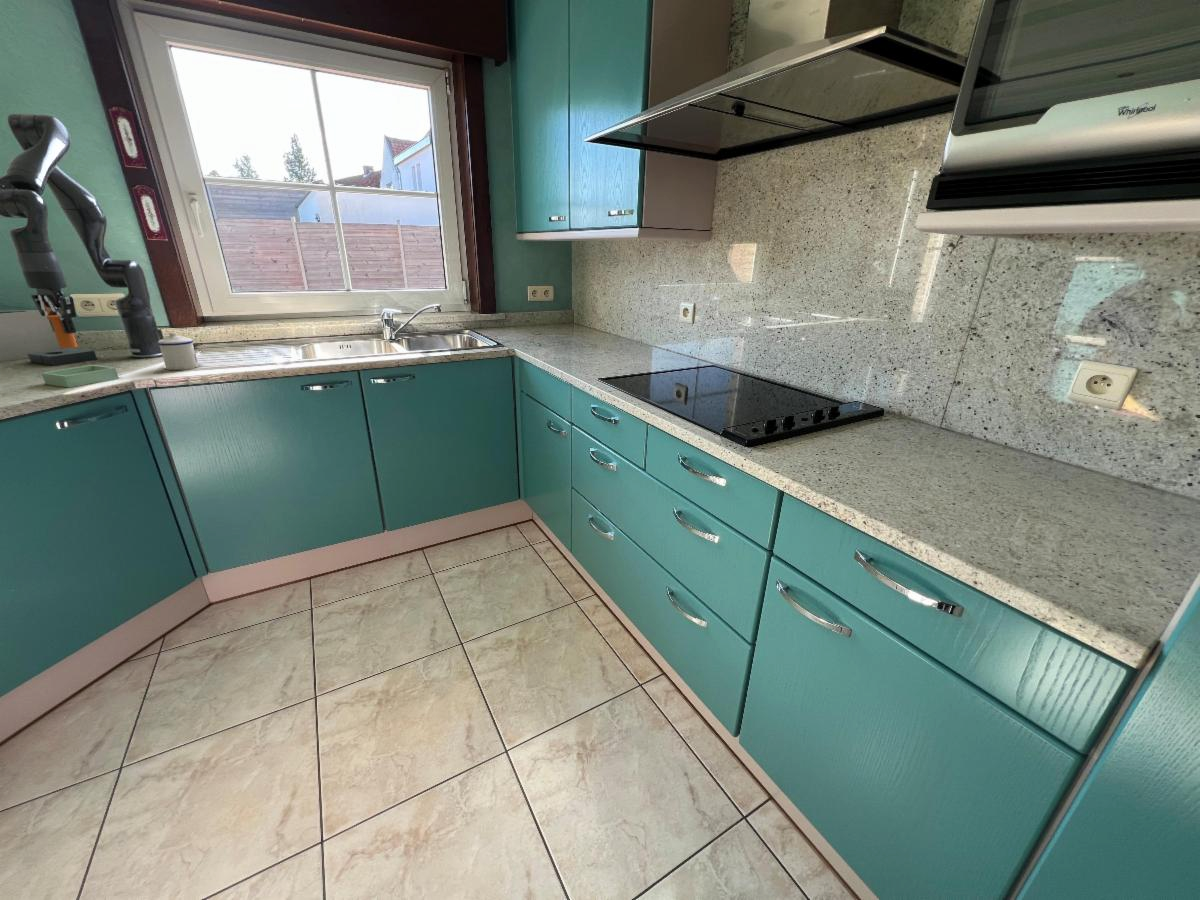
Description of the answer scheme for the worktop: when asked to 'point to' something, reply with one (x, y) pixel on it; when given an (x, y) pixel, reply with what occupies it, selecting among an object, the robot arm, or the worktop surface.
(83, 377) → the tray
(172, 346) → the teacup with lid
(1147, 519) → the worktop surface
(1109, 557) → the worktop surface
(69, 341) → the plug
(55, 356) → the drain plate
